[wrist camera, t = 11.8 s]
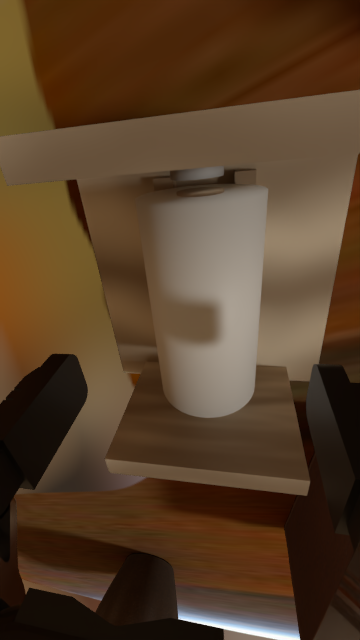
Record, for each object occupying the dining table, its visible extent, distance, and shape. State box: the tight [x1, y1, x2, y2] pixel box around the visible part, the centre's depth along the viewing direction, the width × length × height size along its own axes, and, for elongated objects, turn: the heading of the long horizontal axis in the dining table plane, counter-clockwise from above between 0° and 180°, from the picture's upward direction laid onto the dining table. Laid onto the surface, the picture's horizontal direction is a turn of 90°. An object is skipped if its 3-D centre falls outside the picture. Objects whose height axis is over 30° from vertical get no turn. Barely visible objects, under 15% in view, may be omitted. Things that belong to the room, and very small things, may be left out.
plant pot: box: [95, 554, 178, 626], centre depth 39 cm, size 15×15×16 cm
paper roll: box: [135, 184, 268, 418], centre depth 15 cm, size 11×6×6 cm, turn 4°
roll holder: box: [0, 90, 360, 496], centre depth 15 cm, size 15×14×10 cm
